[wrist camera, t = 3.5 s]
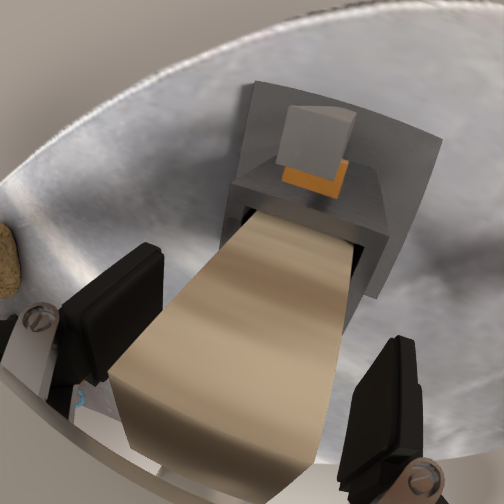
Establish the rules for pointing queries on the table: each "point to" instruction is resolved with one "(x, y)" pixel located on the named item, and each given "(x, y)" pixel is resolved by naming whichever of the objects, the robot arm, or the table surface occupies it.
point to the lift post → (241, 361)
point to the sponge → (8, 263)
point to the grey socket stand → (332, 176)
